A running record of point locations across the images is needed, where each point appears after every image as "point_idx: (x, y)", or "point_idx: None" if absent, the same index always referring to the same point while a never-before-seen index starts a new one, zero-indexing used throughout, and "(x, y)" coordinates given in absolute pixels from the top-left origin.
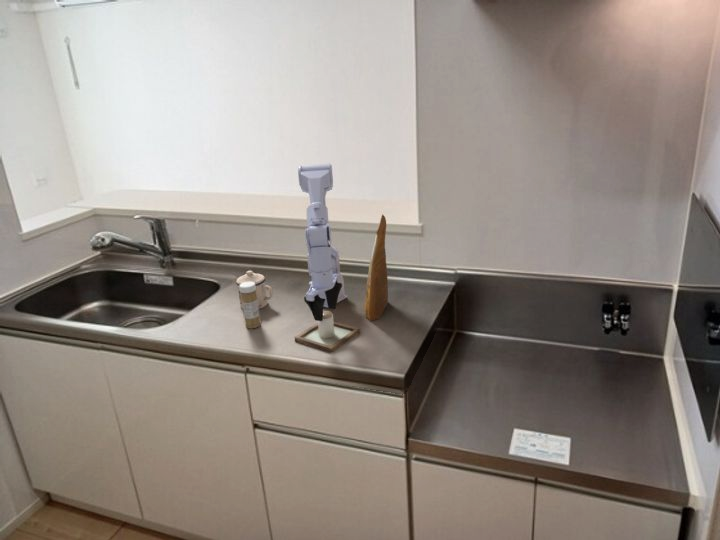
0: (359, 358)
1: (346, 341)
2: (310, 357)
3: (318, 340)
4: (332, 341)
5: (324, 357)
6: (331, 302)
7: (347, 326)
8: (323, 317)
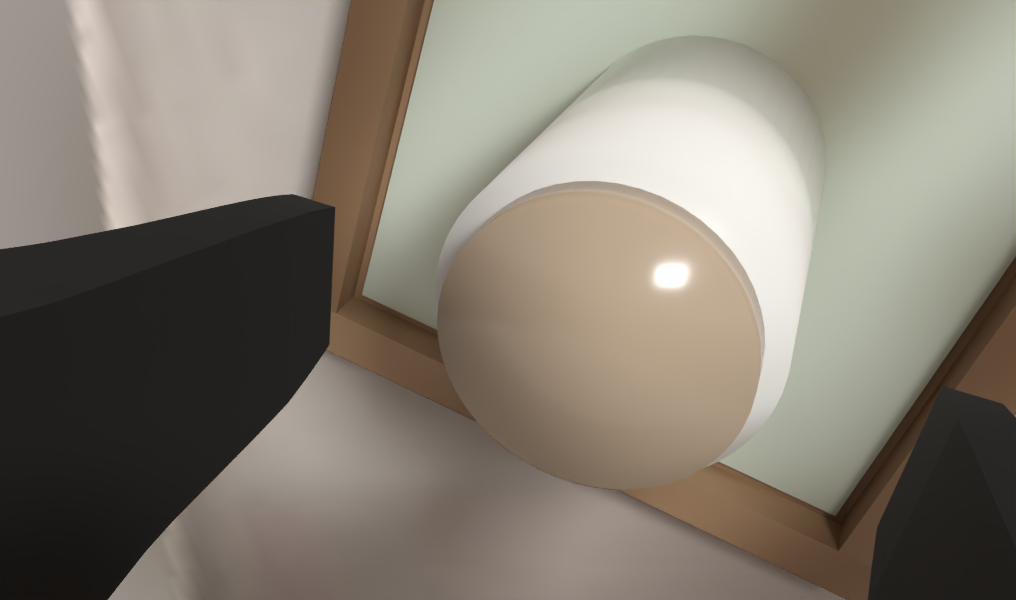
0: (308, 564)
1: None
2: (152, 89)
3: (502, 83)
4: None
5: None
6: (920, 590)
7: None
8: (442, 343)
